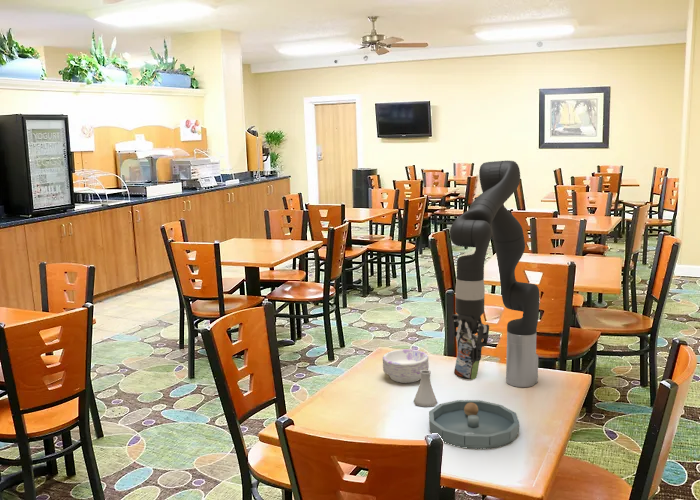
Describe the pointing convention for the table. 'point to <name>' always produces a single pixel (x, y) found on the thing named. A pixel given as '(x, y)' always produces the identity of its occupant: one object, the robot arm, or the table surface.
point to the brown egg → (471, 409)
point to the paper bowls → (405, 365)
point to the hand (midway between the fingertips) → (469, 357)
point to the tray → (474, 437)
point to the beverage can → (466, 360)
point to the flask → (425, 391)
